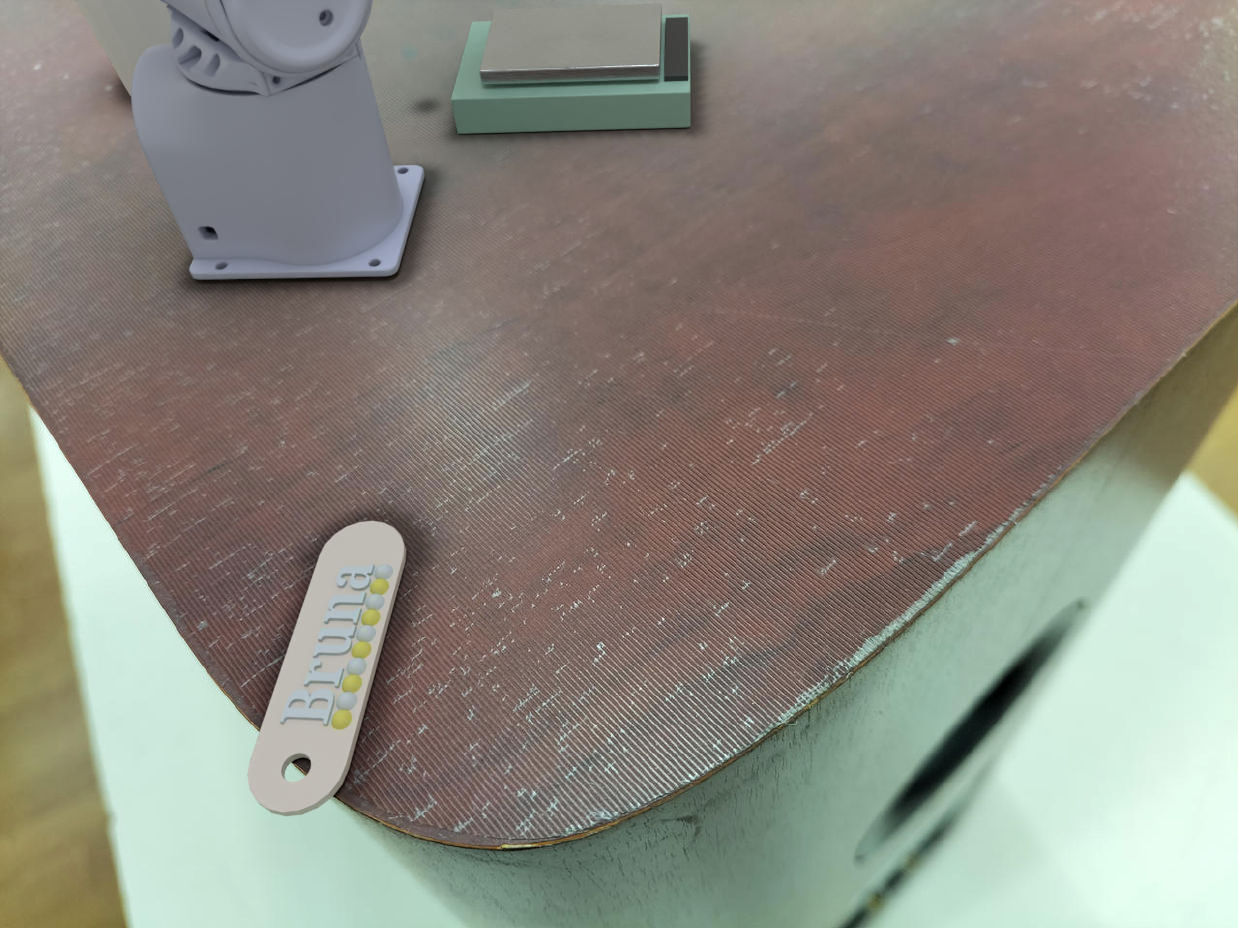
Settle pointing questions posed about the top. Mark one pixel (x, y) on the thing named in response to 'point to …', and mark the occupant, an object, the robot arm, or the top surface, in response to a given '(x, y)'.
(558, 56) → the pan
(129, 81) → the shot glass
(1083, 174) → the top surface
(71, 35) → the top surface
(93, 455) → the top surface
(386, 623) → the keychain
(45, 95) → the top surface
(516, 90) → the scale
